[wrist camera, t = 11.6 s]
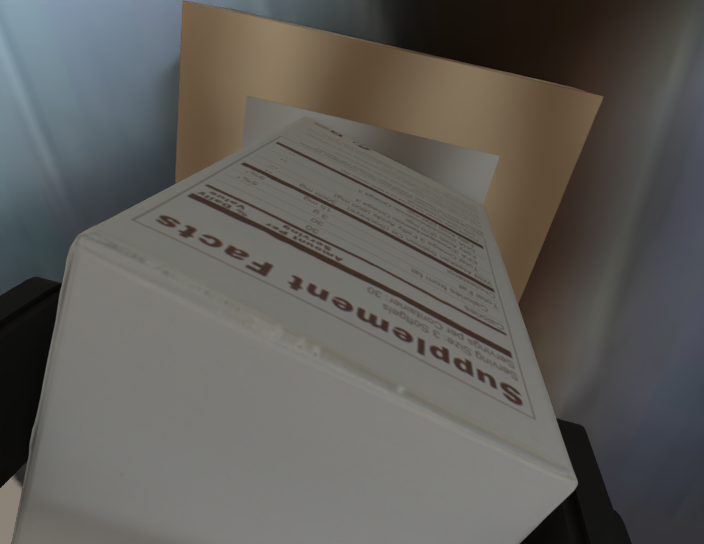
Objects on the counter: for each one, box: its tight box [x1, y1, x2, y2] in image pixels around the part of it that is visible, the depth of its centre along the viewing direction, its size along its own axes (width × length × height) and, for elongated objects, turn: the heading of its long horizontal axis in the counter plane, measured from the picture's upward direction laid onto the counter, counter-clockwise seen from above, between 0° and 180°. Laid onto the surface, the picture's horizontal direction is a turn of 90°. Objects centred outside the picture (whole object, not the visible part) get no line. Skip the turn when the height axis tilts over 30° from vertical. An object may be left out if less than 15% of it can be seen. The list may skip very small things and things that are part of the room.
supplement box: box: [11, 117, 578, 544], centre depth 13 cm, size 7×7×13 cm
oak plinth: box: [175, 1, 603, 303], centre depth 21 cm, size 14×14×4 cm
